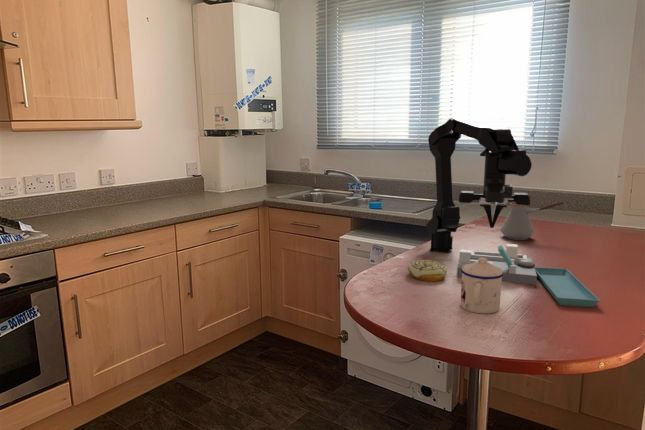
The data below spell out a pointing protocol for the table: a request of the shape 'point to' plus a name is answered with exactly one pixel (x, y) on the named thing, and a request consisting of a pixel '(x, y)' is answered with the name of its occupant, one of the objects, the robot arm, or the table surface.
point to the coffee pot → (520, 221)
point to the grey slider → (465, 256)
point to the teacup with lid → (481, 287)
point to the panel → (507, 267)
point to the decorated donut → (427, 270)
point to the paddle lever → (505, 256)
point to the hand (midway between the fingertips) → (491, 227)
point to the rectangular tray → (566, 287)
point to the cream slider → (512, 250)
